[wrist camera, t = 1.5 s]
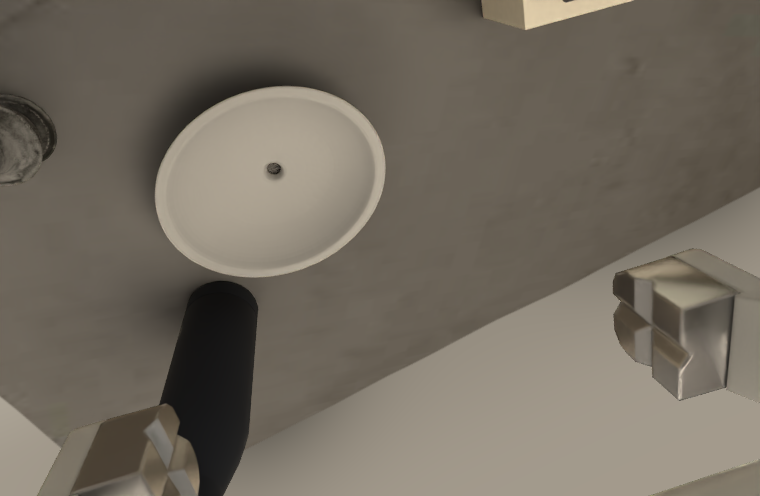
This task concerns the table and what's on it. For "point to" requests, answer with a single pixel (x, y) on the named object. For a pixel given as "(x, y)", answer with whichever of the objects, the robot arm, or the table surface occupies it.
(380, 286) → the table surface
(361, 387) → the table surface
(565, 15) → the bin
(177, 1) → the table surface
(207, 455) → the black bottle
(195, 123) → the dish
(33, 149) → the salt shaker
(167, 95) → the table surface
